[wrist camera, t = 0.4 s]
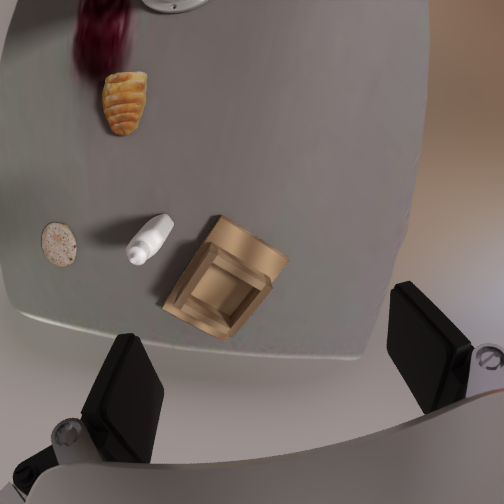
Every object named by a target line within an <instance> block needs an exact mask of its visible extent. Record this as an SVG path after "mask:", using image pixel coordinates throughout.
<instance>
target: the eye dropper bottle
mask: <svg viewBox="0 0 504 504" xmlns="http://www.w3.org/2000/svg"><path fill="white" fill-rule="evenodd" d="M173 226H174V223H173V221H172V220H171V218H170V217H169V216H168V215H167V214H161V215H158V216H155V217H153V218H152V219H150V220H149V221H148V222H147V223H146V224H145V225H144V226H143V227H142V228H141V229H140V230H139V232H138V233H137V234H136V235H135V236H134V237H133V238H132V240H131V241H130V242H129V244H128V246H127V248H126V253H127V255H128V259H129V261H130V262H131V263H133V264H135V265H141V264H143V263H144V262H145V261H146V260H147V259H149V258H150V257H152V256H153V255H154V254H155V253H156V252H157V251H158V250H159V249H160V247H161V246H162V244H163V243H164V241H165V240H166V238H167V236H168V235H169V233H170V231H171V230H172V228H173Z"/></svg>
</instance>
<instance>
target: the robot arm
mask: <svg viewBox="0 0 504 504" xmlns="http://www.w3.org/2000/svg"><path fill="white" fill-rule="evenodd" d="M142 1H143V2H144V4H145V5H146V6H148V7H149V8H151V9H153V10H155V11H158V12H163V13H181V12H185V11H190V10H192V9H195V8H198V7H199V6H201V5H203V4H205V3H206V2H208V1H209V0H142ZM174 8H175V9H174ZM387 351H388V354H389V356H390V357H391V359H392V360H393V362H394V364H395V365H396V367H397V369H398V370H399V372H400V374H401V375H402V377H403V379H404V380H405V382H406V384H407V385H408V387H409V389H410V390H411V392H412V394H413V396H414V397H415V399H416V401H417V402H418V404H419V406H420V408H421V409H422V411H423V413H424V414H425V415H424V416H421V417H418V418H416V419H413V420H411V421H408V422H405V423H402V424H399V425H397V426H394V427H391V428H388V429H385V430H382V431H379V432H376V433H373V434H369V435H366V436H363V437H359V438H356V439H352V440H349V441H345V442H341V443H337V444H333V445H329V446H324V447H320V448H315V449H311V450H306V451H301V452H296V453H290V454H284V455H278V456H272V457H265V458H257V459H249V460H240V461H229V462H217V463H197V464H149V463H150V461H151V456H152V450H153V445H154V440H155V435H156V430H157V425H158V421H159V416H160V411H161V406H162V402H163V398H164V388H163V385H162V383H161V382H160V380H159V378H158V376H157V374H156V372H155V370H154V368H153V366H152V363H151V361H150V359H149V357H148V355H147V353H146V351H145V349H144V347H143V344H142V342H141V340H140V338H139V337H138V336H135V335H134V334H133V333H127V334H119V335H118V336H117V337H116V339H115V341H114V343H113V345H112V347H111V349H110V351H109V353H108V355H107V357H106V359H105V361H104V363H103V365H102V367H101V370H100V372H99V374H98V376H97V378H96V380H95V382H94V384H93V387H92V389H91V391H90V393H89V395H88V397H87V400H86V402H85V404H84V406H83V409H82V411H81V414H82V417H81V419H80V420H79V419H78V418H68V419H65V420H63V421H61V422H60V423H59V424H57V426H55V428H54V429H53V431H52V434H51V442H52V445H51V446H49V447H47V448H46V449H44V450H42V451H40V452H39V453H37V454H35V455H34V456H32V457H30V458H28V459H26V460H25V461H23V462H21V463H20V464H19V465H18V466H17V467H16V469H15V471H14V473H13V482H14V483H13V484H12V483H11V482H9V483H8V484H7V485H6V486H5V487H4V488H3V489H2V490H1V491H0V504H504V349H503V348H502V347H501V346H499V345H496V344H492V343H485V344H480V345H479V346H477V347H476V348H474V347H473V346H472V345H471V342H470V341H469V340H468V339H467V338H466V337H465V335H463V333H462V332H461V331H460V330H459V329H458V328H457V327H456V326H455V325H454V324H453V323H452V322H451V321H450V320H449V319H448V318H447V317H446V316H445V315H444V313H443V312H442V311H441V310H439V308H437V306H435V305H434V304H433V302H432V301H431V300H430V299H428V298H427V297H426V296H425V295H424V294H423V293H422V292H421V291H420V290H419V289H418V288H417V287H416V286H415V285H414V284H413V283H412V282H411V281H406V282H403V283H399V284H396V285H395V287H394V289H392V290H391V293H390V310H389V324H388V336H387Z"/></svg>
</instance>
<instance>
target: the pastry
mask: <svg viewBox="0 0 504 504" xmlns="http://www.w3.org/2000/svg"><path fill="white" fill-rule="evenodd" d="M146 81H147V74H146V73H144V72H123V73H116V74H114V75H113V74H112V75H110V76H108V77H107V78H106V79H105V86H104V89H103V92H102V100H103V109H104V114H105V117H106V119H107V121H108V123H109V126H110V129H111V130H112V131H113V132H114V133H115V134H117V135H120V136H125V135H130V134H131V133H132V132H133V131H134V130H136V129H137V127H138V124H139V121H140V118H141V116H142V113H143V109H144V107H145V103H146V96H145V94H146V89H147V83H146Z"/></svg>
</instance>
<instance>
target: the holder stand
mask: <svg viewBox="0 0 504 504" xmlns="http://www.w3.org/2000/svg"><path fill="white" fill-rule="evenodd" d="M288 262H289V259H288V257H287V256H286V255H284V254H283V253H281V252H280V251H278V250H276V249H275V248H273V247H272V246H270V245H269V244H267V243H265V242H264V241H262V240H261V239H259V238H258V237H256V236H254V235H253V234H251V233H250V232H248V231H247V230H245V229H243V228H242V227H240V226H239V225H237V224H236V223H234V222H232V221H231V220H229V219H228V218H226V217H224V216H223V215H221V216H220V218H219V219H218V221H217V222H216V223H215V225H214V226H213V228H212V229H211V231H210V233H209V234H208V236H207V237H206V239H205V240H204V242H203V243H202V245H201V246H200V248H199V249H198V251H197V252H196V254H195V255H194V257H193V258H192V260H191V262H190V263H189V265H188V266H187V268H186V269H185V271H184V273H183V274H182V276H181V277H180V279H179V280H178V282H177V284H176V285H175V287H174V288H173V290H172V291H171V293H170V295H169V296H168V298H167V300H166V301H165V303H164V305H163V308H162V309H164V310H166V311H168V312H169V313H171V314H173V315H175V316H177V317H179V318H180V319H182V320H184V321H186V322H188V323H190V324H192V325H194V326H195V327H197V328H199V329H201V330H203V331H205V332H207V333H209V334H211V335H213V336H215V337H217V338H219V339H221V340H223V341H225V340H226V339H227V338H228V337H229V336H231V337H234V335H235V334H236V333H237V332H238V331H239V329H240V328H241V327H242V326H243V325H244V323H245V322H246V321H247V320H248V319H249V317H250V316H251V315H252V314H253V312H254V311H255V310H256V309H257V308H258V306H259V305H260V304H261V303H262V301H263V300H264V299H265V298H266V296H267V295H268V294H269V293H270V291H271V290H272V289H273V287H272V282H273V281H274V280H275V278H276V277H277V276H278V275H279V273H280V272H281V271H282V270H283V268H284V267H285V266H286V264H287V263H288Z"/></svg>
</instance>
